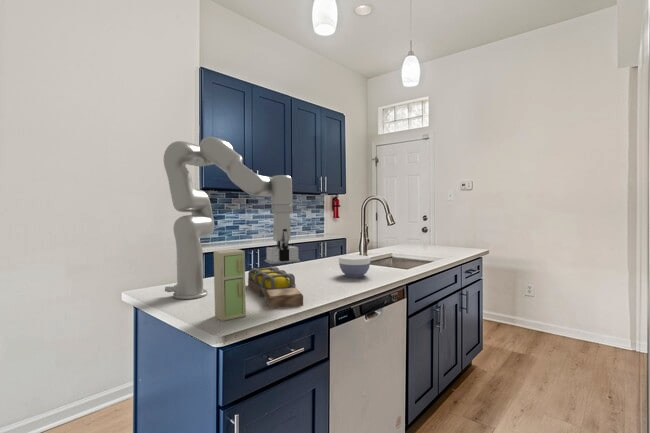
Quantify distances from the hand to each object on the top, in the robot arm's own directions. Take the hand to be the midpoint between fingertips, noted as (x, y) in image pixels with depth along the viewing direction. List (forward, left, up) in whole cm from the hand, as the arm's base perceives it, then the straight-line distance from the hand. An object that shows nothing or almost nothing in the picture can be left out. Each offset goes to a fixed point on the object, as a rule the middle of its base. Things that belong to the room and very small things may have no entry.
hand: (282, 259), depth 125 cm
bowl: (+43, +37, -16) cm, 59 cm away
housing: (0, 0, -1) cm, 1 cm away
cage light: (-1, +22, -16) cm, 27 cm away
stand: (0, 0, -16) cm, 16 cm away
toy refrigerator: (-19, -10, -16) cm, 27 cm away
